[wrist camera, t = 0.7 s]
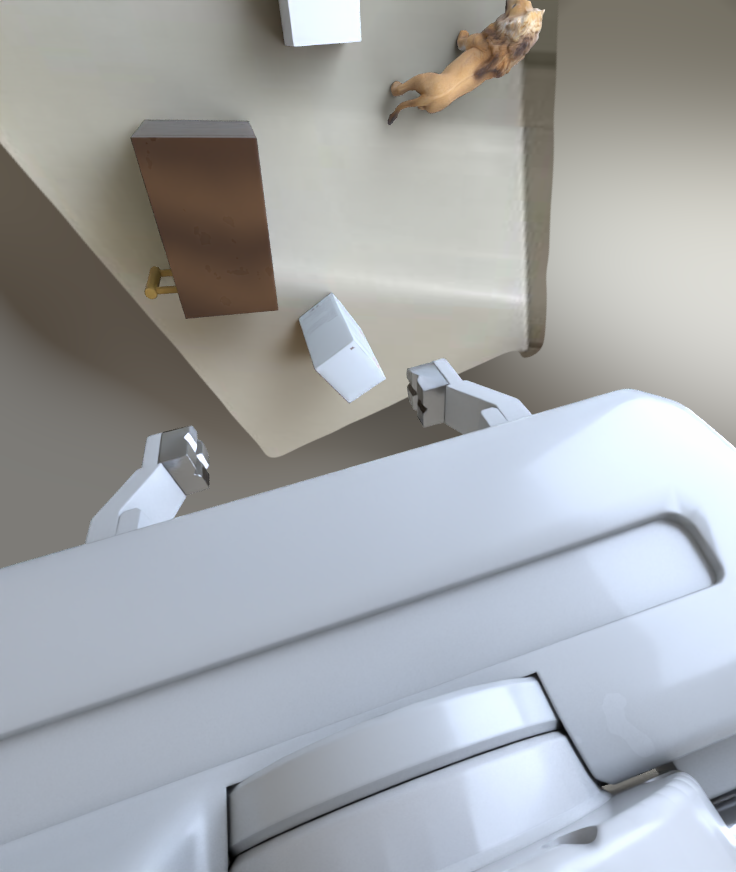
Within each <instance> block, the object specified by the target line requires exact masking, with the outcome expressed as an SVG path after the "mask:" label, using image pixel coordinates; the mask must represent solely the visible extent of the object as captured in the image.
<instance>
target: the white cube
mask: <svg viewBox="0 0 736 872" xmlns="http://www.w3.org/2000/svg"><path fill="white" fill-rule="evenodd" d="M279 7H280V14H281V21H282V28H283V35H284V42H285V45H286V46H307V45H320V44H332V43H345V42H358V41H361V26H360V3H359V0H279Z"/></svg>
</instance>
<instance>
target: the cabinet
mask: <svg viewBox="0 0 736 872" xmlns="http://www.w3.org/2000/svg"><path fill="white" fill-rule="evenodd" d="M131 141H132V144H133V148H134V151H135V154H136V157H137V161H138V164H139V167H140V171H141V174H142V177H143V180H144V184H145V187H146V190H147V193H148V197H149V200H150V203H151V206H152V210H153V213H154V216H155V220H156V223H157V226H158V229H159V233H160V236H161V239H162V242H163V246H164V249H165V252H166V255H167V259H168V262H169V265H170V269H171V272H172V275H173V278H174V282H175V285H176V288H177V291H178V295H179V298H180V301H181V304H182V308H183V311H184V314H185V318H186V319H188V318H199V317H209V316H220V315H231V314H242V313H253V312H264V311H275V310H278V303H277V295H276V287H275V280H274V272H273V264H272V256H271V248H270V240H269V232H268V224H267V216H266V208H265V200H264V192H263V184H262V176H261V168H260V161H259V153H258V145H257V138H256V136H255V134H254V132H253V129H252V127H251V125H250V123H249V121H203V120H144V121H143V122H142V124H141V125H140V126H139V127H138V129H137V130H136V131H135V133H134V134H133V135H132V136H131Z"/></svg>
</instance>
